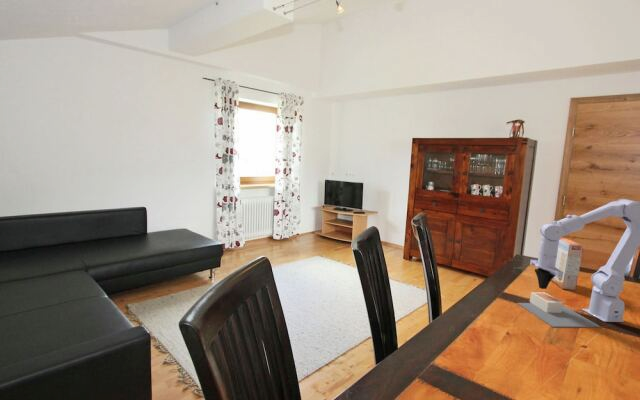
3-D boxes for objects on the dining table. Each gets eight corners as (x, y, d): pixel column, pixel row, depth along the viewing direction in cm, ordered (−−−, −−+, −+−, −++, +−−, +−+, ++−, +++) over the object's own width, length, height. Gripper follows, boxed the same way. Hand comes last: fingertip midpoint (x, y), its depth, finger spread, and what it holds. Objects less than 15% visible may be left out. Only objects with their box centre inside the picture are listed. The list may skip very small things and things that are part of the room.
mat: (600, 327, 117) (600, 326, 117) (552, 327, 115) (552, 326, 115) (559, 304, 134) (559, 303, 134) (517, 303, 133) (517, 302, 133)
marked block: (543, 302, 135) (561, 312, 126) (529, 301, 134) (546, 312, 125) (545, 292, 134) (563, 302, 125) (531, 292, 134) (548, 302, 125)
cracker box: (576, 291, 150) (584, 245, 147) (561, 289, 151) (568, 244, 148) (561, 279, 163) (567, 237, 160) (547, 278, 164) (553, 236, 161)
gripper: (525, 249, 137) (520, 280, 138) (552, 260, 122) (547, 295, 124) (541, 249, 137) (536, 281, 139) (570, 260, 123) (564, 296, 125)
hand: (542, 288), depth 132 cm, fingers closed
